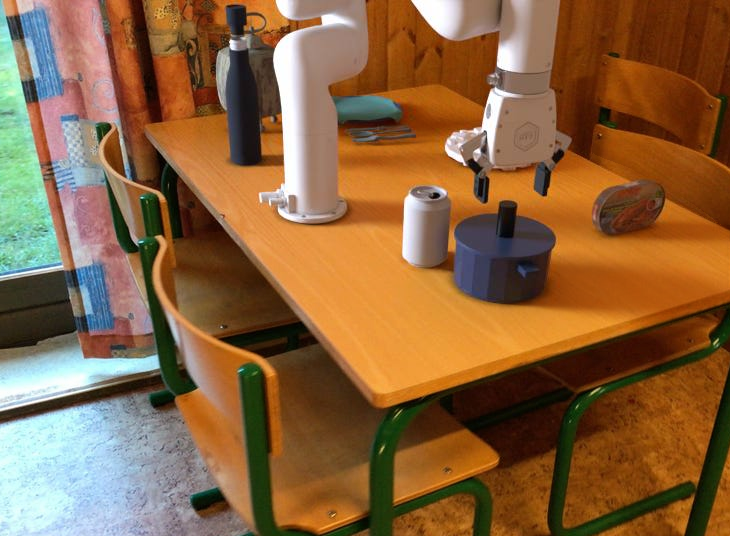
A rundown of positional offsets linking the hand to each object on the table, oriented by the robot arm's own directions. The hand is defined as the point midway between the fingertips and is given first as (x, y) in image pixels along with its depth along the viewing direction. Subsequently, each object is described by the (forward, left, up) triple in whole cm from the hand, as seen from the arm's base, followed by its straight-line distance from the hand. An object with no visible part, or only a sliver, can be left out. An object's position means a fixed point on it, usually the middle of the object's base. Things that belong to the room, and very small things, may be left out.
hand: (510, 196), depth 126 cm
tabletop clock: (-23, +80, -15) cm, 85 cm away
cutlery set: (+2, +79, -15) cm, 81 cm away
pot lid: (0, 0, -7) cm, 7 cm away
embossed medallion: (+22, +52, -15) cm, 58 cm away
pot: (0, 0, -14) cm, 14 cm away
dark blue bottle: (-29, +62, -15) cm, 70 cm away
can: (-9, +10, -15) cm, 20 cm away
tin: (+30, +12, -15) cm, 35 cm away
